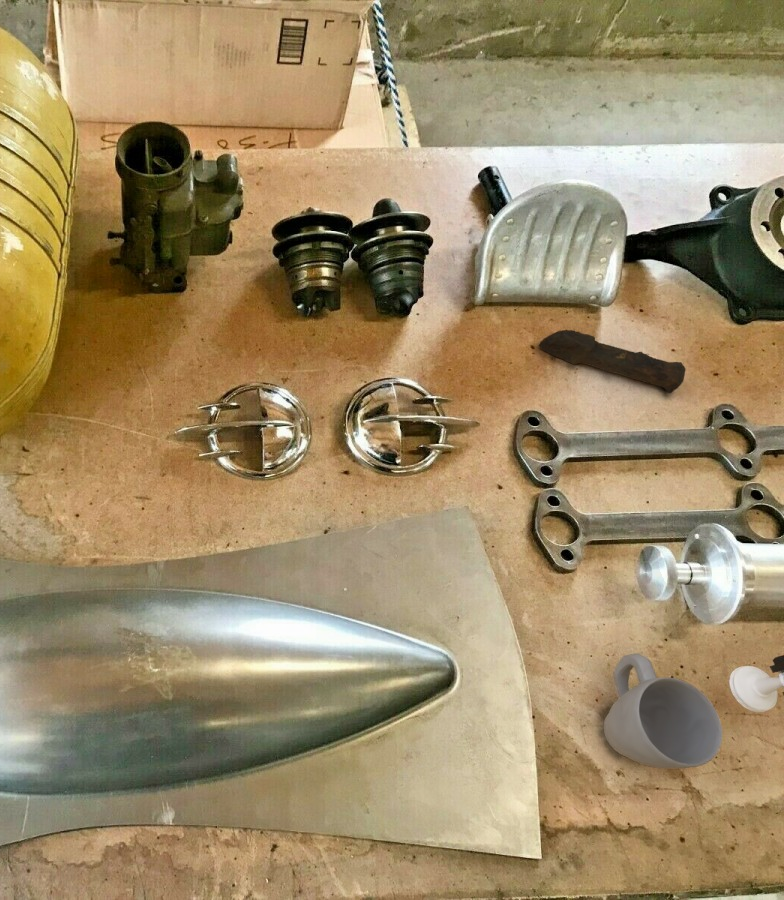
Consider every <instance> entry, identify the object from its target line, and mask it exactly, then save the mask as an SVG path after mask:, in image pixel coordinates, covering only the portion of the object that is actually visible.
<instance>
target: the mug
mask: <svg viewBox="0 0 784 900" xmlns="http://www.w3.org/2000/svg"><path fill="white" fill-rule="evenodd" d="M633 669H634V670H635V674H636V676H637V680H638V684H637V685H635V686H633V687H632V688H630V685H629V681H630V680H629V679H630V673H631V671H632V670H633ZM613 681H614V686H615V689H616V693H617V695H618V698H617V700H616V701H615V702H614V703H613V705H611V707H610V710H609V711H608V713H607V715H606V716H605V718H604V721H603V733H604V736H605V739H606V741H607V742H608V745H610V747H611V748H612V749H613V750H614V751H615V752H616V753H618V754H619V755H621V756H623V757H626V758H627V759H630V760H631V761H633V762H635V763H637V764H640V765H642V766H647V767H650V768H656V769H665V770H679V769H680V770H684V769H692V768H696V767H700V766H704V765H706V764H708V763H709V762H711V761H712V760H714V758H715V757H716V756H717V754H718V753H719V751H720V748H721V746H722V742H723V741H722V740H723V728H722V723H721V720H720V717H719V714H718V712H717V709H716V708H715V706H714V705H713V703H712V702H711V700H709V698H708V697H707V696H706V695H705V694H704V693H703V692H702V691H701V690H699V689H698V688H697V687H696V686H694V685H693V684H691V683H689V682H687V681H685V680H682V679H680V678H675V677H670V676H669V677H668V676H667V677H658V676H657V673H656V671H655V668H654V666H653V663H652V661H651V660H650V659H649V658H648V657H647V656H645V655H643V654H641V653H637V652H635V653H630V654H626V655H623V656H622V657H621V658H620V659H619V660H618V662H617V664H616V666H615V667H614V670H613Z"/></svg>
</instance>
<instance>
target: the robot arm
mask: <svg viewBox="0 0 784 900" xmlns="http://www.w3.org/2000/svg"><path fill="white" fill-rule="evenodd" d="M772 663H773V665H770V666H769V669H770V670H771V672H772V673H780V672H781V671H784V654H782V655H778V656H775V657H774V658H773V659H772ZM782 694H783V696H784V691H782Z"/></svg>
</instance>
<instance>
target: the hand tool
mask: <svg viewBox="0 0 784 900" xmlns="http://www.w3.org/2000/svg"><path fill="white" fill-rule="evenodd" d="M538 346H539V348H540V349H541V350H543V351H544V352H546V353H548V354H550V355H552V356H553V357H556V358H558V359H561V360H564V361H566V362H567V363H570V364H572V365H577V364H584V365H588V366H592V367H594V368H597V369H599V370H604V371H606V372H608V373H613V374H618V375H621V376H624V377H627V378H630V379H633V380H637V381H639V382H644V383H647V384H650V385H655V386H658V387H661V388H664V390H665V393H666V394H672V393H673V392H674V391H675V390H677V389H678V388H679V387H681V385H682V384H683V382H684V380H685V375H686V371H687V369H686V366H685V365H684V364H683V363H682V361H666V360H662V359H659V358H655V357H652V356H650V355H648V354H647V353H644V352H643V351H636V352H635V351H632V350H627V349H625V348H624V349H623V348H621V347H617V346H614V345H609V344H606V343H603V342H599V341H597V340H596V337H595V336H594V335H591V334H587V333H582V332H580V331H576V330H572V329H569V330H568V329H564V330H558V331H556V332H554V333H551V334H549V335H548V336H545V337H544V338H543V339H542V340H541V341H540V342H539V343H538Z"/></svg>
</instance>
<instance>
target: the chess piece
mask: <svg viewBox="0 0 784 900" xmlns="http://www.w3.org/2000/svg"><path fill="white" fill-rule="evenodd" d="M728 684H729V688H730V691H731V694H732V695H733V697H734V699H735V700H736V701H737V702H738V703H739V704H740V705H741V706H742V707H743V708H745V709H746V710H748V711H751V712H754V713H765V712H767V711H769V710H772V709H773V708H774V707H775V706H776V704H777V702H778V698H779V695H778V694H779V693H778V690H780V689H783V688H784V671H780V672H779V673H778V676H773V677H770V675H769V674H768V673H767V672H765V671H764V670H763V669H761V668H759V667H756V666H752V665H742V666H739V667H737V668H735V669H733V671H732V672H731V673H730V675H729V682H728Z"/></svg>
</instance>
